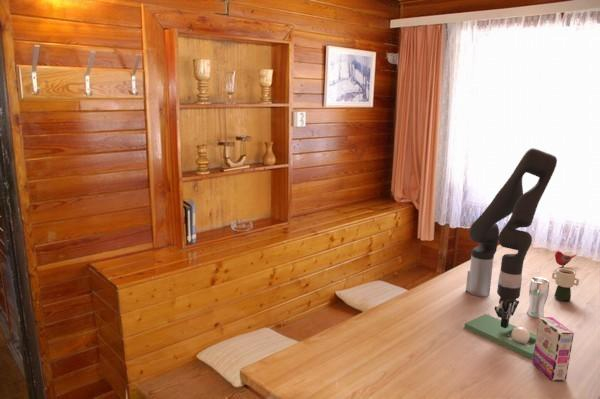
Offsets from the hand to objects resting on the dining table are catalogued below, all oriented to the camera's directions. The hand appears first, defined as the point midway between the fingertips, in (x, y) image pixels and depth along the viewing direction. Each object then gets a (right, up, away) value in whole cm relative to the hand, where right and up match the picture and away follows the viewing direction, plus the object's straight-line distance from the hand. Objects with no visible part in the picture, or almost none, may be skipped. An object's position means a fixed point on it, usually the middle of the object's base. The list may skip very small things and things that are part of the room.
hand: (504, 327), depth 172 cm
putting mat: (+1, -4, 0) cm, 4 cm away
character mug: (+40, +3, +33) cm, 52 cm away
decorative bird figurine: (+62, +11, +71) cm, 95 cm away
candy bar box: (+5, -9, -21) cm, 23 cm away
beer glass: (+21, 0, +18) cm, 27 cm away
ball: (+4, -2, -5) cm, 6 cm away
